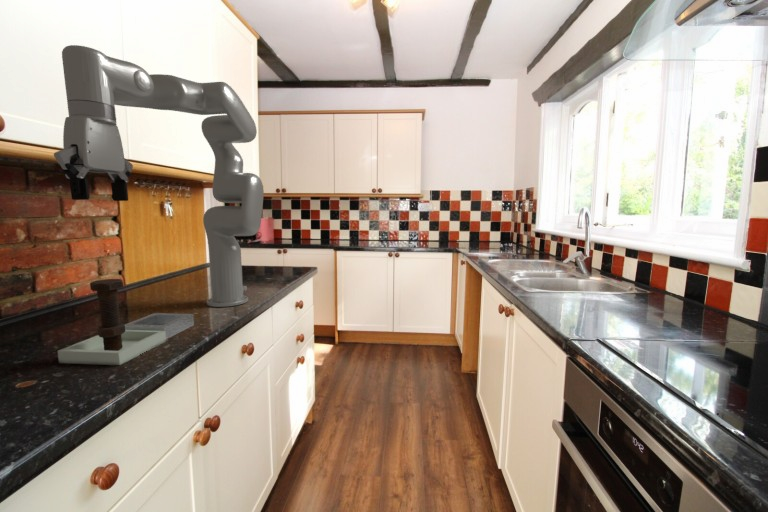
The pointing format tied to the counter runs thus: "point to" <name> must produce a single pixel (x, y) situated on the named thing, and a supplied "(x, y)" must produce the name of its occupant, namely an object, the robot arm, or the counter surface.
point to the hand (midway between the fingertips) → (102, 200)
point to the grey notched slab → (163, 323)
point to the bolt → (109, 312)
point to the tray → (96, 354)
